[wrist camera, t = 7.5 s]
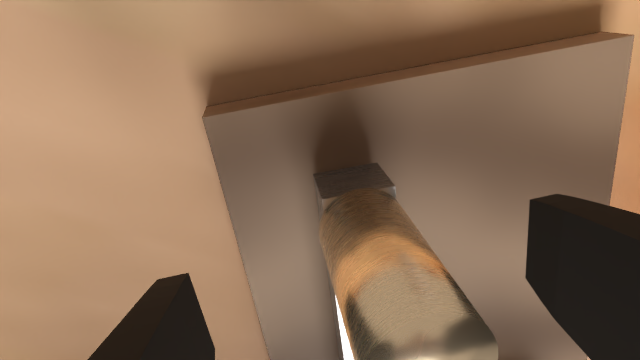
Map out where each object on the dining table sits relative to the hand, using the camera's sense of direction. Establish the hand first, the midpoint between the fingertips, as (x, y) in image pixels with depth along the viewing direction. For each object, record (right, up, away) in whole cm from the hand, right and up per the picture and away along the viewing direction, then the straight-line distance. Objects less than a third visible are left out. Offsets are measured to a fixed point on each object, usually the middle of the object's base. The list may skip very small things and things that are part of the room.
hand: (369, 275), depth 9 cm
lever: (+1, -5, +6) cm, 8 cm away
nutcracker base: (+3, -4, +8) cm, 9 cm away
